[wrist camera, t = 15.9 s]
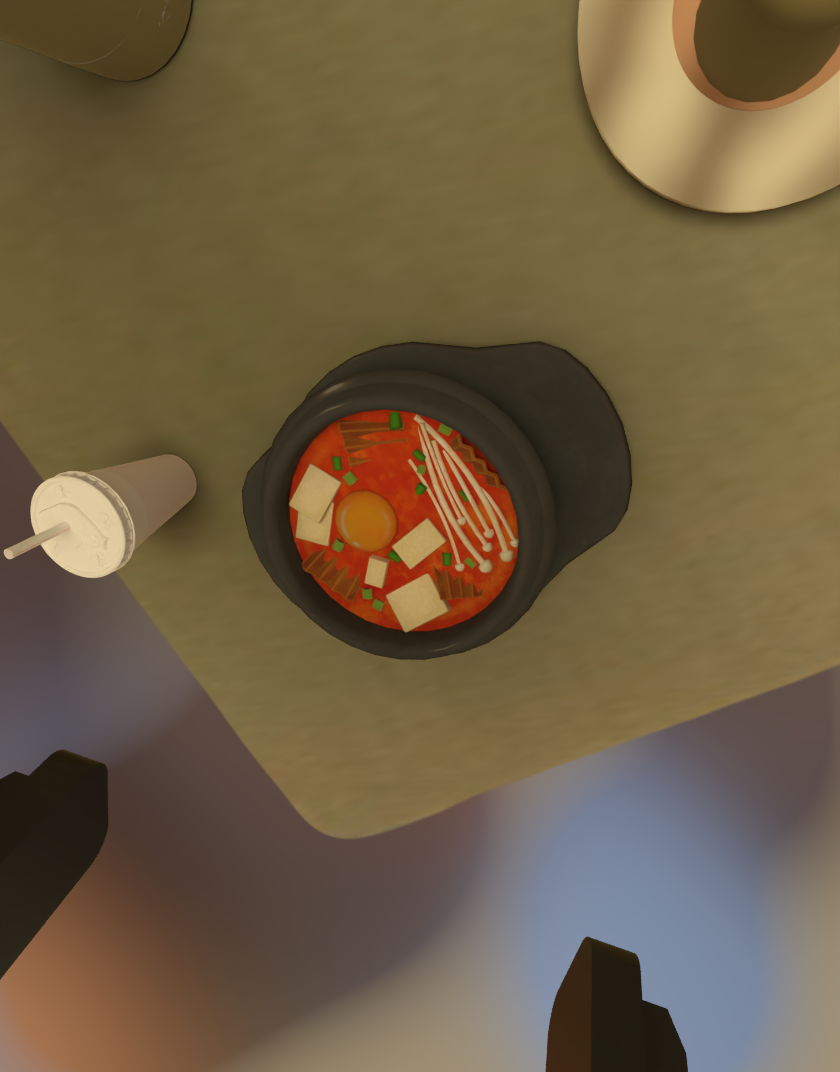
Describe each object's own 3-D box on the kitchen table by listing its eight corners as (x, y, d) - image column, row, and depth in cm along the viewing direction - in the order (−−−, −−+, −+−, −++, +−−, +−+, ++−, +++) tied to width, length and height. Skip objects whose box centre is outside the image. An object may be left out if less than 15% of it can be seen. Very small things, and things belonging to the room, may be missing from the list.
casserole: (561, 255, 37) (548, 255, 29) (675, 557, 41) (689, 625, 34) (207, 428, 46) (128, 462, 38) (331, 660, 50) (282, 730, 43)
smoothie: (141, 419, 47) (-32, 479, 34) (223, 458, 46) (79, 533, 34) (126, 499, 50) (-39, 581, 37) (203, 536, 49) (63, 633, 37)
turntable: (544, 184, 35) (538, 179, 33) (637, -236, 29) (639, -283, 26) (871, 242, 33) (892, 240, 30) (1056, -205, 26) (1103, -254, 24)
